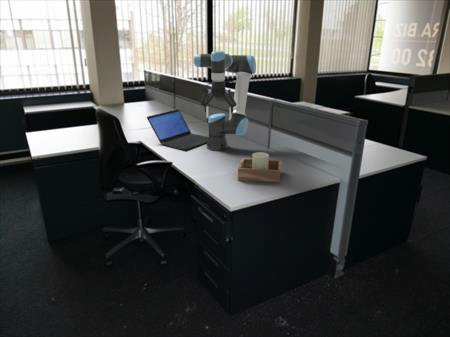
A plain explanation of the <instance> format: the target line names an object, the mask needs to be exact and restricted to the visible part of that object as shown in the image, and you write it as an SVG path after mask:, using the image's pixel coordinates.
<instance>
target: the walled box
mask: <svg viewBox="0 0 450 337" xmlns="http://www.w3.org/2000/svg"><path fill="white" fill-rule="evenodd" d="M281 172H282V160H280V159H279V160H278V159H277V160H276V159H269V163H268V170H267V169H252V158H245V157H244V158H241V160H240V163H239V165H238V168H237V181H238V182H239V181H240V182H255V183H271V184H280V183H281Z"/></svg>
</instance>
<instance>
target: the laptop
mask: <svg viewBox="0 0 450 337" xmlns="http://www.w3.org/2000/svg"><path fill="white" fill-rule="evenodd" d="M146 119H147V121H148V122H149V125H150V126H151V129H152V130H153V132H154V134H155V135H156V137H157V139H158V142H159V143H160V144H161V145H163V146H165V147H169V148H173V149H176V150H177V149H178V150H182V151H186V152H187V151H189V150H192V149H194V148H197V147H200V146H202V145H205V144H207V142H208V138H209V136H204V135H201V134H196V133H192V132H191V129H190V128H189V126H188V124H187V122H186V120H185V119H184V116H183V115H182V113H181V111H180V110H179V109H175V110H169V111H165V112H161V113H157V114H152V115H148V116H146Z"/></svg>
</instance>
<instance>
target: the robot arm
mask: <svg viewBox="0 0 450 337" xmlns="http://www.w3.org/2000/svg"><path fill="white" fill-rule="evenodd" d="M193 64H194V66H195V67H197V68H206V69H207V68H209V69H211V80H212V81H211V89H209V88H207V89H206V90H205V95H204V97H203V99H202V101H201V103H200V105H201V106H203V107H204V112H205V113H206V114H205V115H206V116H205V117H206V119H208V137H209V138H208V142H207V143H206V149H207V150H210V151H225V150H228V148H229V143H228V139H227V137H226V136H227V135H234V136H243V135H245V134H246V132H247V130H248V127H249V119H248V118H247V114H246V113H245V111H246V107H247V106H246V105H247V98H248V92H249V85H250V79H251V78H253V75H254V74H256V71H257V62H256V58H255V56H254V55H249V54H246V55H245V54H244V55H241V54H240V55H238V54H235V55H234V54H233V55H231V54H229V53H225V51H223V50H222V51H220V50H219V51H218V50H216V51H215V50H214V51H212V52H211V53H196V54H194V56H193ZM226 72H227V73H232V74H234V75H235V77H236V81H235V88H234V94H232V90H231V88H229V89H226V81H225V80H226ZM210 93H211V94H212V95H211V96H210V97H209V98H208V96H209V94H210ZM226 93H227V94H228V96H229V98H228V97H227V95H226ZM214 98H222V99H224V100H225V102H226V103H227V104H228V106H229V114H228V116H226V113H215V114H211V115H210V113H209V112H210V111H209V110H210V109H209V104H210V102H211V101H212V100H213V99H214ZM207 99H208V100H207Z"/></svg>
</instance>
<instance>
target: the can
mask: <svg viewBox="0 0 450 337" xmlns="http://www.w3.org/2000/svg"><path fill="white" fill-rule="evenodd" d="M251 159H252V169H267V170H268V163H269V160H270V154H269V153H267V152H261V151H260V152H254V153H252V158H251Z"/></svg>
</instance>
